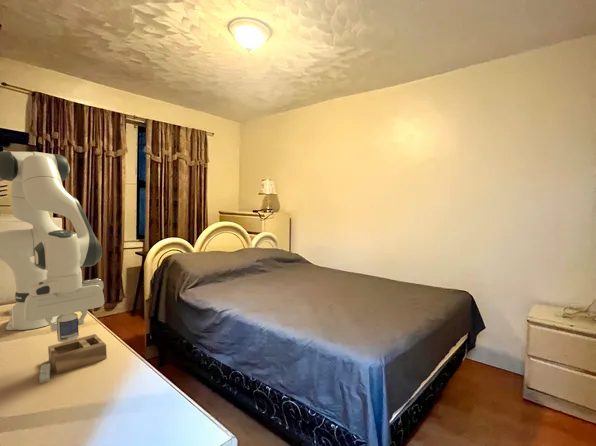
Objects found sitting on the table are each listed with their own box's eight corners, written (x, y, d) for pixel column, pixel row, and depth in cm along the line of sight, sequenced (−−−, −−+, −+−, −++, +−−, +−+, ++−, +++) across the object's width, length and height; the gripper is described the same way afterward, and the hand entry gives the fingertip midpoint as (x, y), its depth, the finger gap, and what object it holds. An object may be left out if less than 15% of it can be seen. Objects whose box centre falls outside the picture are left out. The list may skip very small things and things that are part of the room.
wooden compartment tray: (48, 360, 104) (48, 346, 103) (95, 346, 113) (95, 334, 113) (56, 373, 95) (55, 358, 95) (106, 358, 105) (106, 344, 104)
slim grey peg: (41, 372, 97) (40, 365, 97) (50, 370, 98) (50, 363, 98) (39, 384, 90) (39, 376, 90) (49, 381, 92) (49, 374, 91)
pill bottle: (83, 336, 104) (81, 306, 103) (66, 343, 99) (64, 312, 98) (70, 334, 105) (69, 305, 105) (53, 341, 100) (51, 310, 100)
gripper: (100, 276, 110) (102, 316, 111) (21, 288, 96) (24, 334, 97) (106, 278, 106) (108, 320, 107) (24, 292, 91) (27, 340, 92)
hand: (67, 327), depth 102 cm, fingers closed on pill bottle, 5 cm apart
